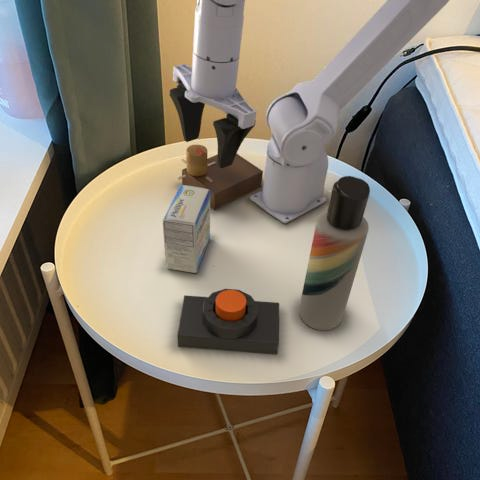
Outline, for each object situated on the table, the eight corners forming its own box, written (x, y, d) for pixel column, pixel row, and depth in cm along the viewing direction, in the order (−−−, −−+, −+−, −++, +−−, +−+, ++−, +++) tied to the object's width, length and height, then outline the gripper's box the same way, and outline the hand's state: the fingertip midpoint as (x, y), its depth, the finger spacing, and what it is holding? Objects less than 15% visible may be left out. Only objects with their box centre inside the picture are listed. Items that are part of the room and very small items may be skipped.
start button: (214, 320, 65) (214, 310, 63) (216, 298, 67) (217, 288, 66) (244, 323, 65) (245, 313, 63) (246, 300, 67) (247, 290, 66)
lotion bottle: (320, 292, 74) (351, 162, 59) (351, 318, 71) (392, 188, 56) (289, 311, 71) (313, 179, 56) (319, 338, 68) (353, 208, 53)
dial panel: (221, 159, 94) (222, 142, 91) (261, 187, 89) (263, 170, 87) (164, 184, 88) (163, 167, 86) (204, 215, 83) (204, 198, 81)
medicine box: (196, 275, 75) (196, 224, 68) (165, 269, 75) (161, 218, 68) (210, 238, 80) (211, 188, 73) (180, 233, 80) (178, 182, 74)
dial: (182, 169, 86) (181, 147, 83) (198, 162, 87) (198, 140, 84) (195, 178, 84) (195, 156, 81) (211, 171, 86) (211, 149, 83)
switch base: (177, 346, 66) (176, 325, 63) (184, 306, 71) (183, 284, 68) (276, 354, 66) (280, 333, 63) (277, 314, 71) (280, 292, 68)
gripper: (154, 35, 68) (154, 135, 78) (229, 84, 62) (218, 186, 72) (199, 26, 72) (193, 123, 82) (274, 71, 65) (258, 171, 75)
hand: (207, 152), depth 77 cm, fingers open, 7 cm apart
